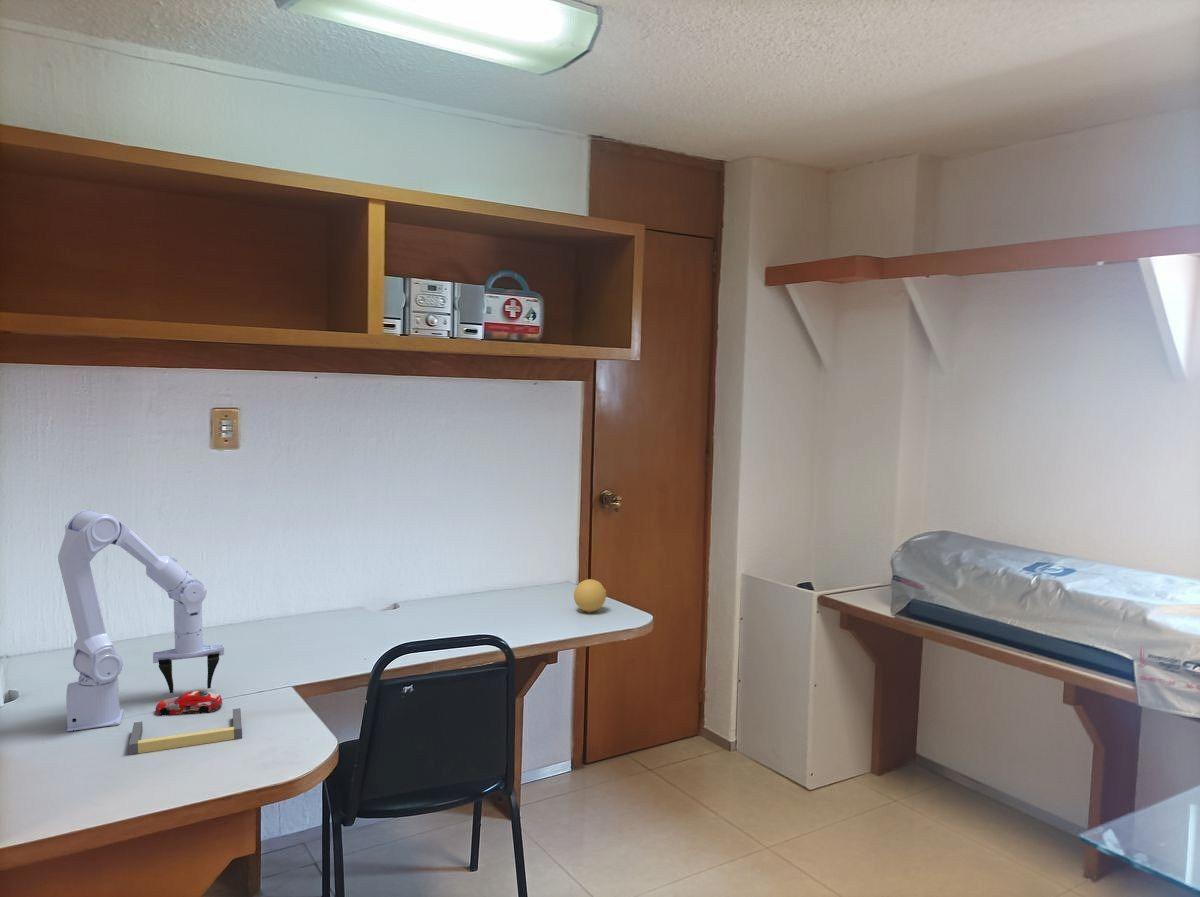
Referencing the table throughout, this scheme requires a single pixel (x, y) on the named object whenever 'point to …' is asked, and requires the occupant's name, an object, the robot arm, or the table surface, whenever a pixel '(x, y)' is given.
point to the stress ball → (589, 595)
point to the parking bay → (184, 737)
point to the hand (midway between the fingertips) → (190, 689)
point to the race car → (190, 703)
